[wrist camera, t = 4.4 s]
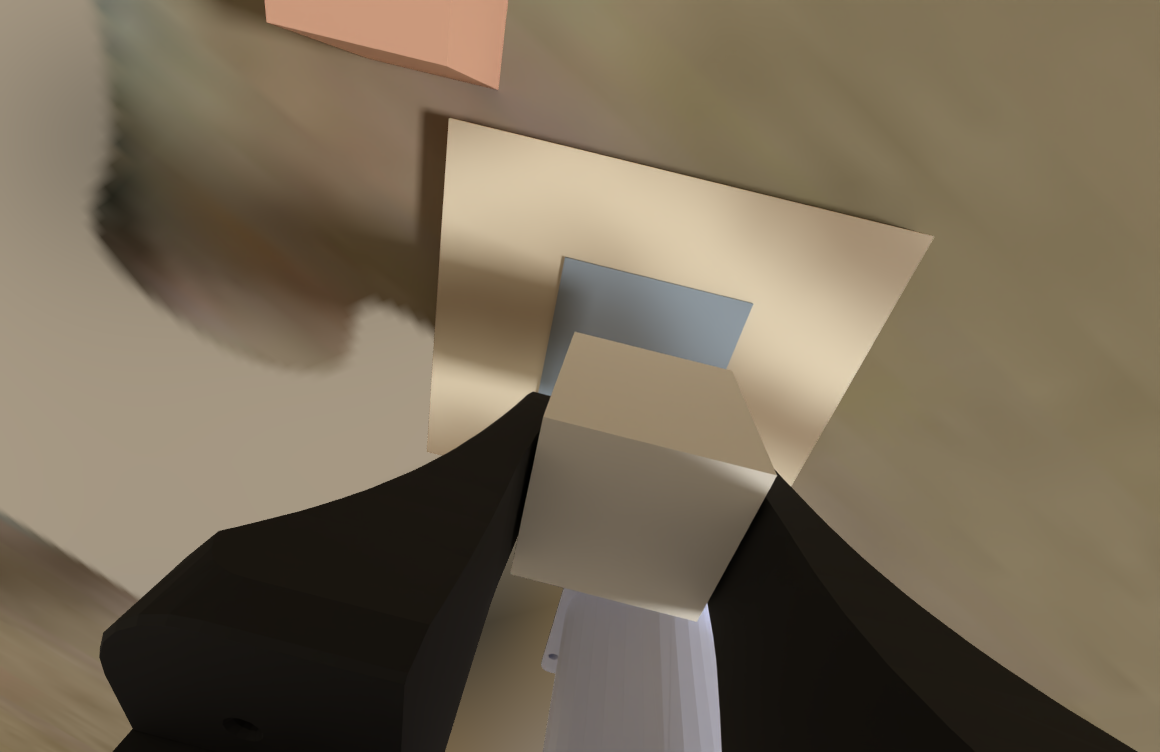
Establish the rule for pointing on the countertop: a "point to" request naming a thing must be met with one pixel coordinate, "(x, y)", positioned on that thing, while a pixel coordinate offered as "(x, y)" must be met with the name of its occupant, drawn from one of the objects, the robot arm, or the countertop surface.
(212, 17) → the countertop surface
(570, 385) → the block base
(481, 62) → the block top
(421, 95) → the countertop surface
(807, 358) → the base board
